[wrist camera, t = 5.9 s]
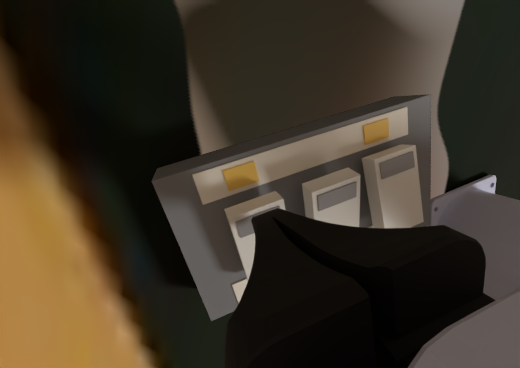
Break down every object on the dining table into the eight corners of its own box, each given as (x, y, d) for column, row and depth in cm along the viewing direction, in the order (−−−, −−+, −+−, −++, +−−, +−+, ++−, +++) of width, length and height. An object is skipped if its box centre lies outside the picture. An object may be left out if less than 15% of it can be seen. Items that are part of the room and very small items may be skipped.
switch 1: (290, 261, 16) (299, 273, 15) (247, 279, 15) (252, 293, 14) (275, 191, 14) (284, 199, 13) (224, 209, 13) (228, 219, 12)
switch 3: (409, 216, 17) (424, 222, 16) (373, 231, 17) (386, 238, 16) (400, 144, 16) (416, 145, 15) (361, 158, 15) (374, 159, 14)
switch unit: (399, 210, 22) (432, 225, 19) (207, 290, 19) (211, 323, 16) (394, 96, 19) (433, 94, 16) (157, 168, 15) (151, 182, 12)
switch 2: (348, 233, 17) (359, 244, 16) (309, 249, 16) (318, 262, 15) (347, 167, 14) (361, 175, 13) (301, 183, 14) (312, 193, 13)
